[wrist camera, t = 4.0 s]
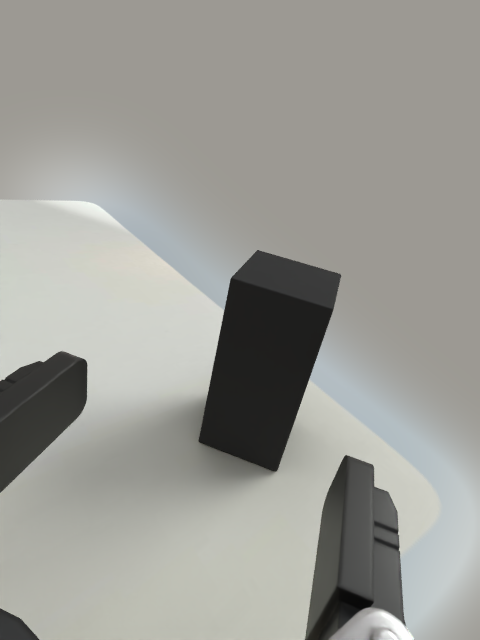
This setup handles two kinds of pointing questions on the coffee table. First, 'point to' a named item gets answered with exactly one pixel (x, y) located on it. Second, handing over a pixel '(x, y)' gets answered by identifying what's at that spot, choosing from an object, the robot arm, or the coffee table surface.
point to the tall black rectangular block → (266, 355)
